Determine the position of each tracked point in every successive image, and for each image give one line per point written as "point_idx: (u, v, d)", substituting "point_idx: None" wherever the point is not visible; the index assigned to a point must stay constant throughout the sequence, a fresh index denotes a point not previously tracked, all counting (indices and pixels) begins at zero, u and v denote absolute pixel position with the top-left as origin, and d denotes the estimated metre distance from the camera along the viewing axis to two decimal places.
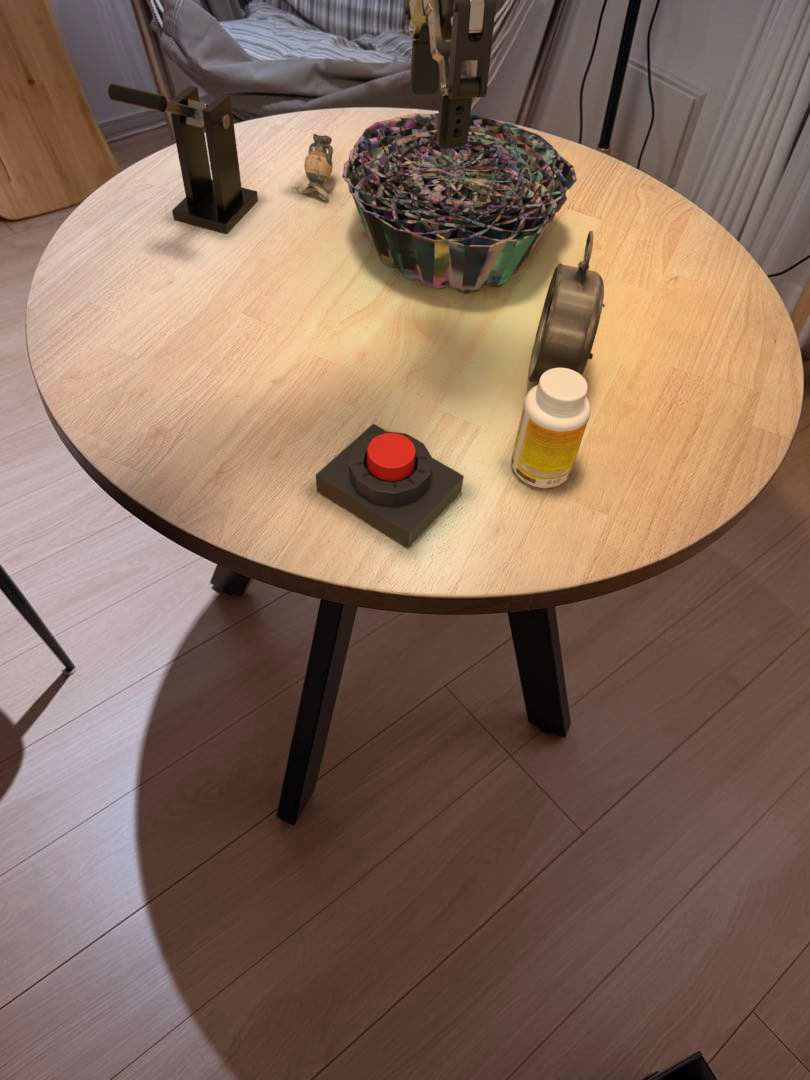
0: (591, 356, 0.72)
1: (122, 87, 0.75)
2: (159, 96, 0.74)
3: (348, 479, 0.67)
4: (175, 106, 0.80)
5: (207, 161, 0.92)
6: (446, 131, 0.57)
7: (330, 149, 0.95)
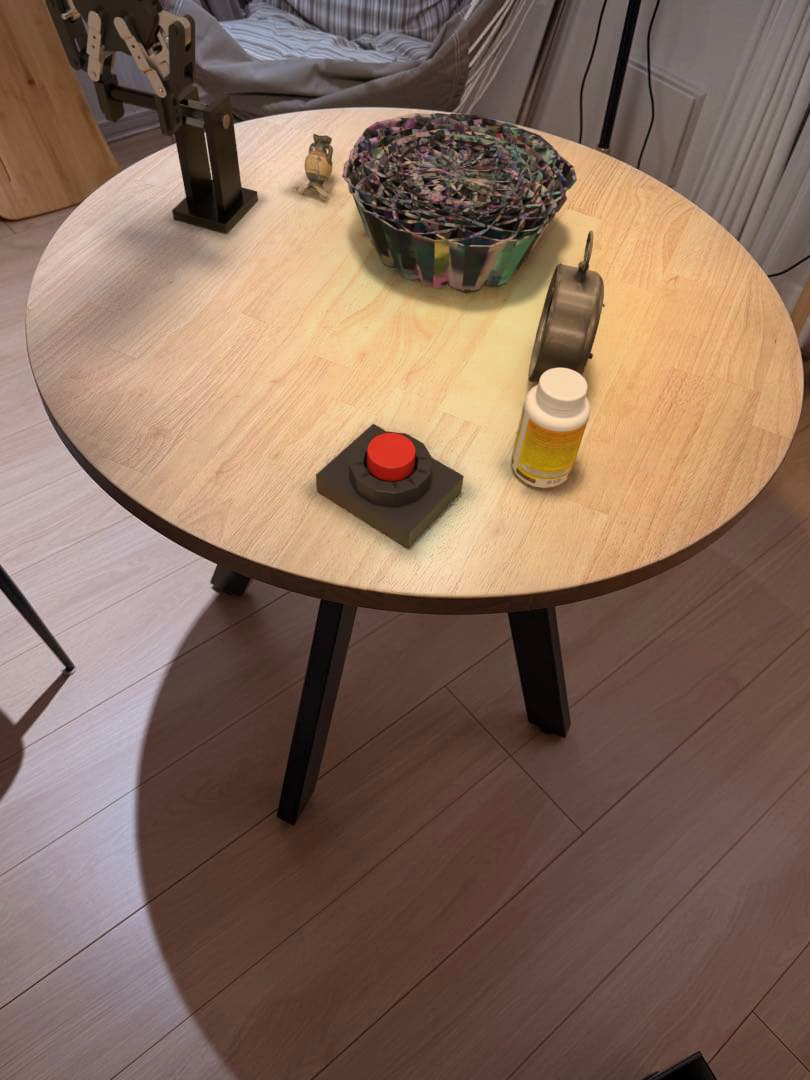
0: (591, 356, 0.72)
1: (122, 87, 0.75)
2: None
3: (348, 479, 0.67)
4: None
5: (207, 161, 0.92)
6: (171, 122, 0.75)
7: (330, 149, 0.95)
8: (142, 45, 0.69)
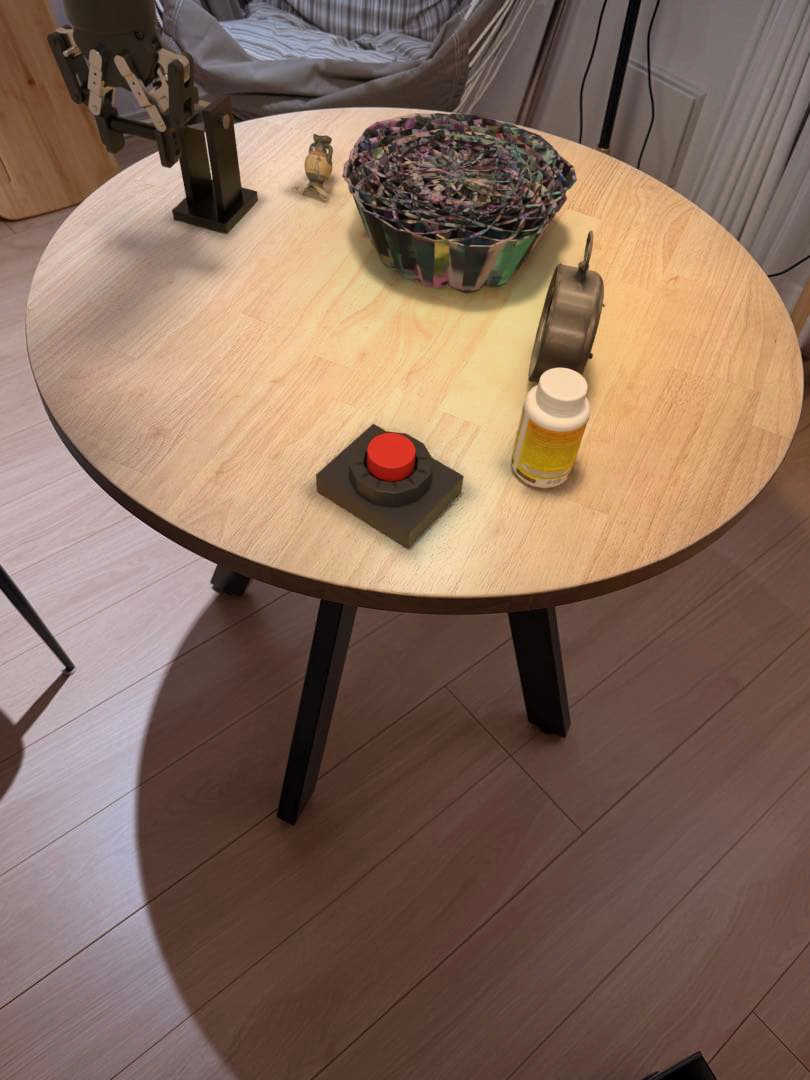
0: (591, 356, 0.72)
1: (121, 119, 0.76)
2: None
3: (348, 479, 0.67)
4: None
5: (207, 161, 0.92)
6: (170, 154, 0.76)
7: (330, 149, 0.95)
8: (142, 82, 0.71)
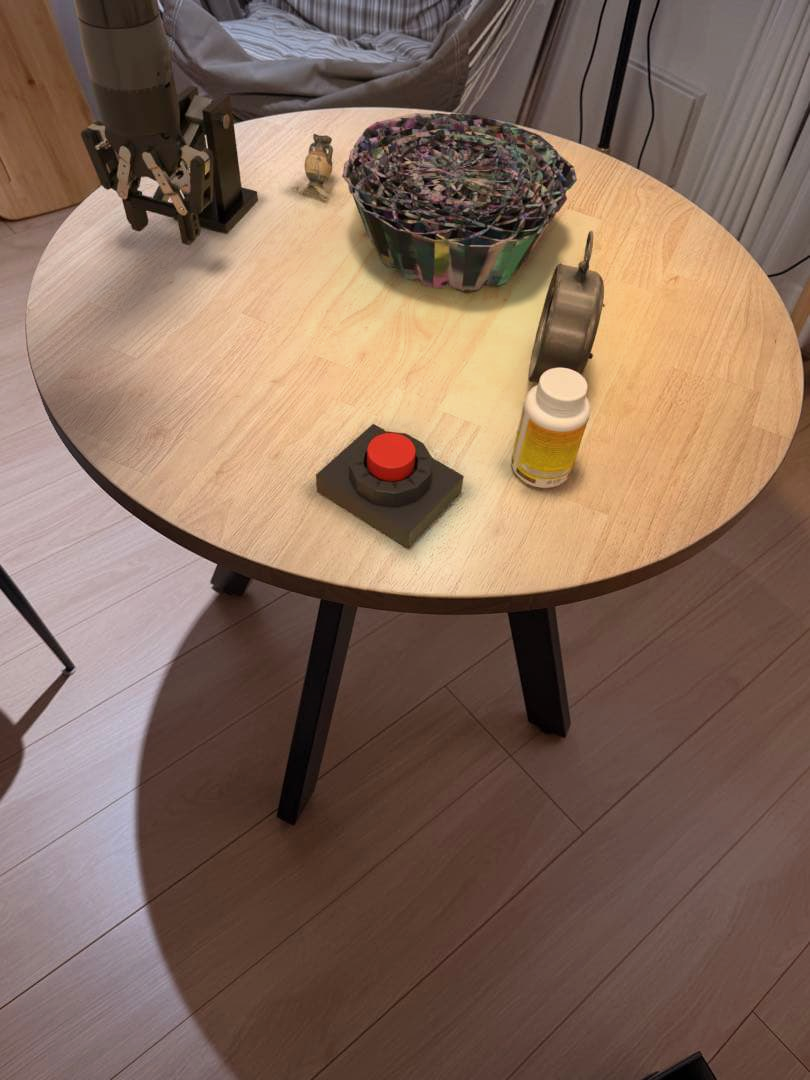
0: (591, 356, 0.72)
1: (141, 202, 0.83)
2: (174, 212, 0.82)
3: (348, 479, 0.67)
4: None
5: None
6: (190, 234, 0.84)
7: (330, 149, 0.95)
8: (166, 174, 0.79)
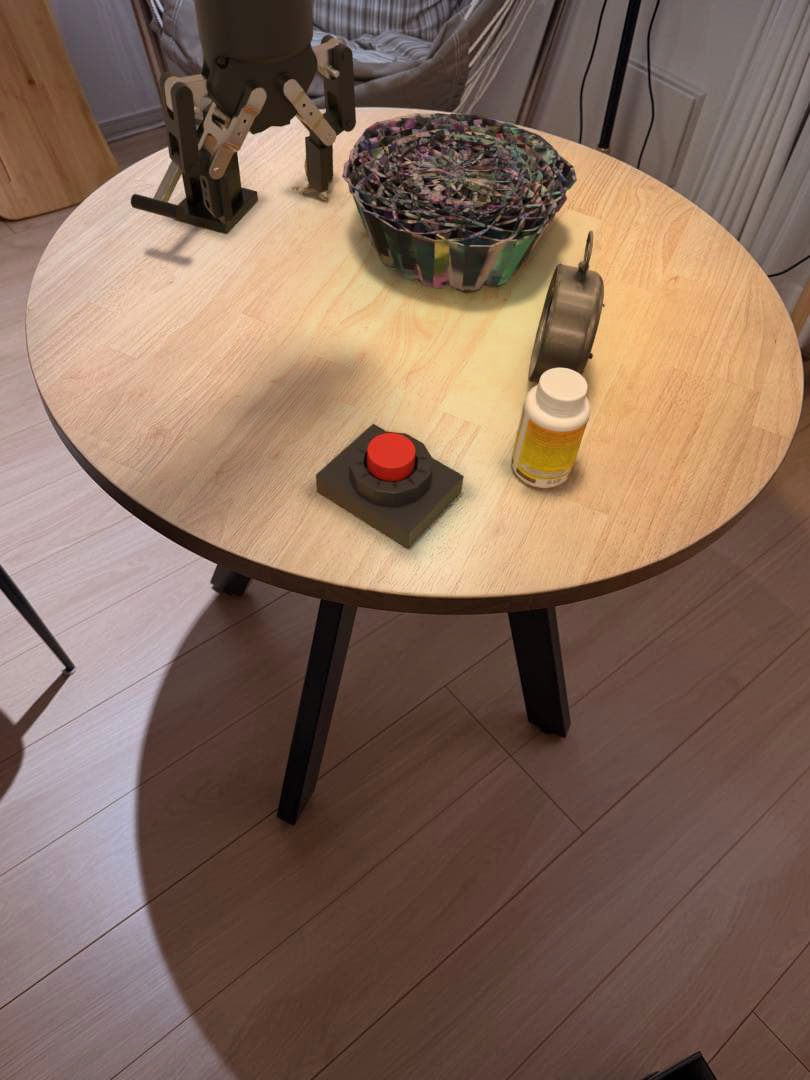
0: (591, 356, 0.72)
1: (141, 203, 0.83)
2: (175, 212, 0.82)
3: (348, 479, 0.67)
4: None
5: None
6: (329, 172, 0.62)
7: None
8: None
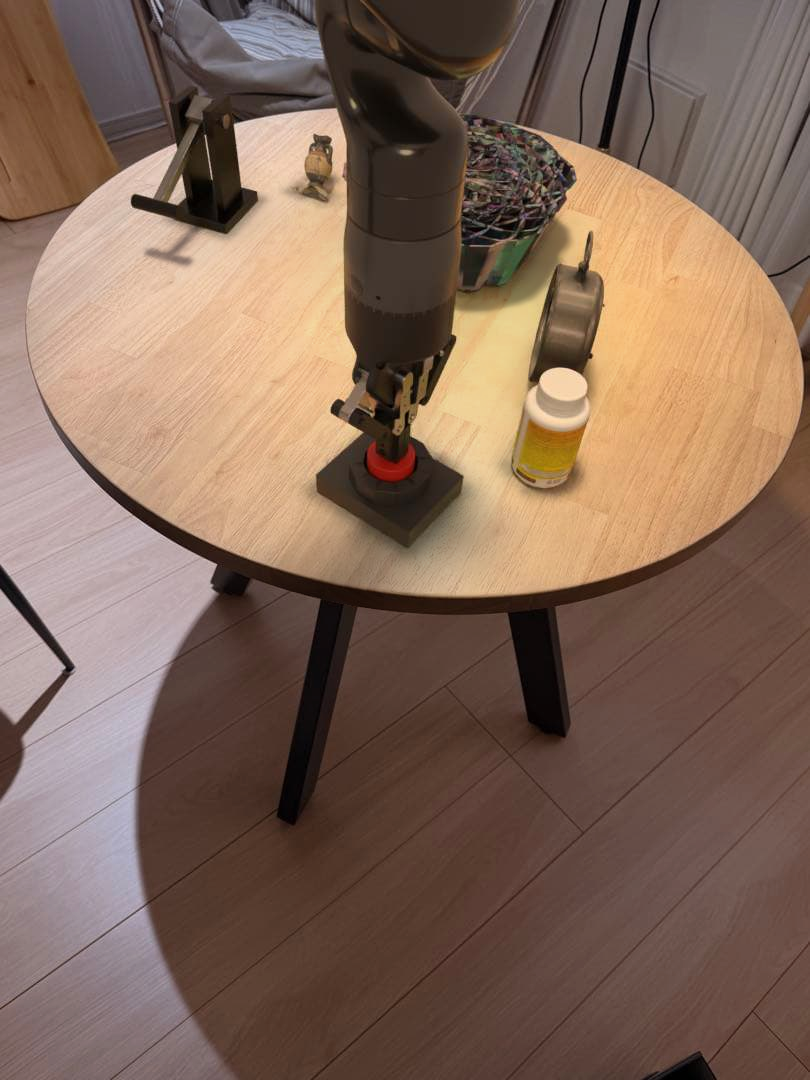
0: (591, 356, 0.72)
1: (141, 203, 0.83)
2: (175, 212, 0.82)
3: (348, 479, 0.67)
4: (182, 163, 0.84)
5: (207, 161, 0.92)
6: None
7: (330, 149, 0.95)
8: None
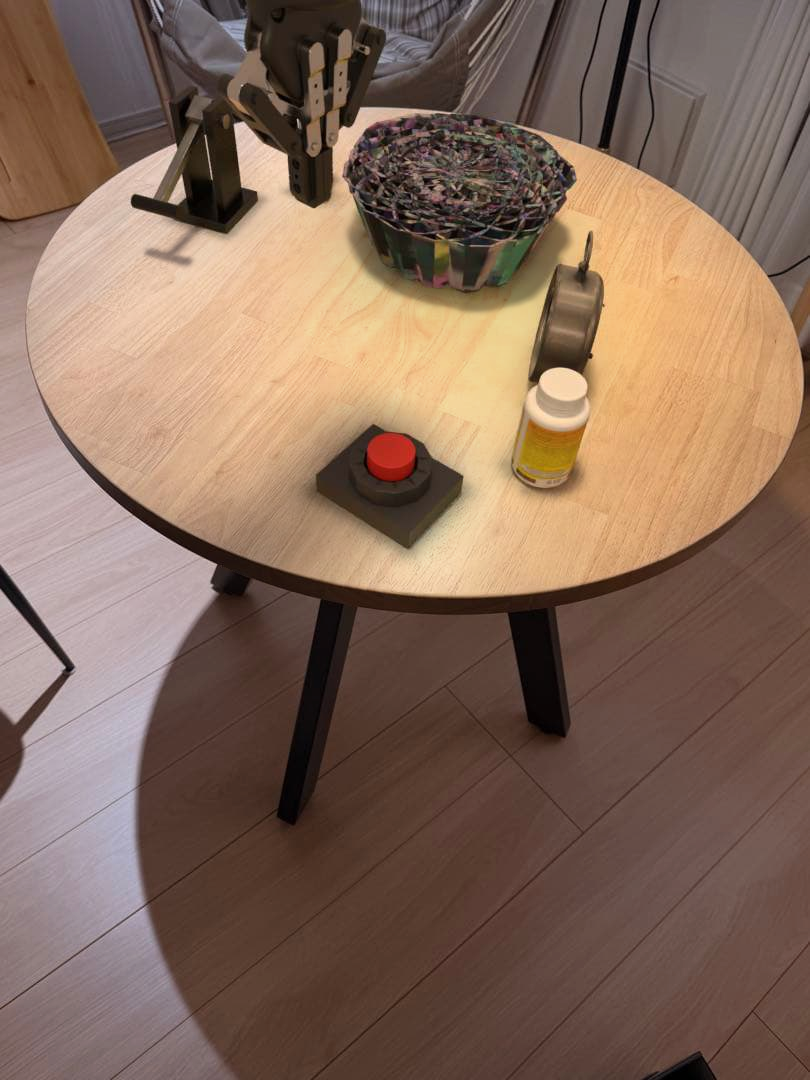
0: (591, 356, 0.72)
1: (141, 203, 0.83)
2: (175, 212, 0.82)
3: (348, 479, 0.67)
4: (182, 163, 0.84)
5: (207, 161, 0.92)
6: None
7: None
8: None
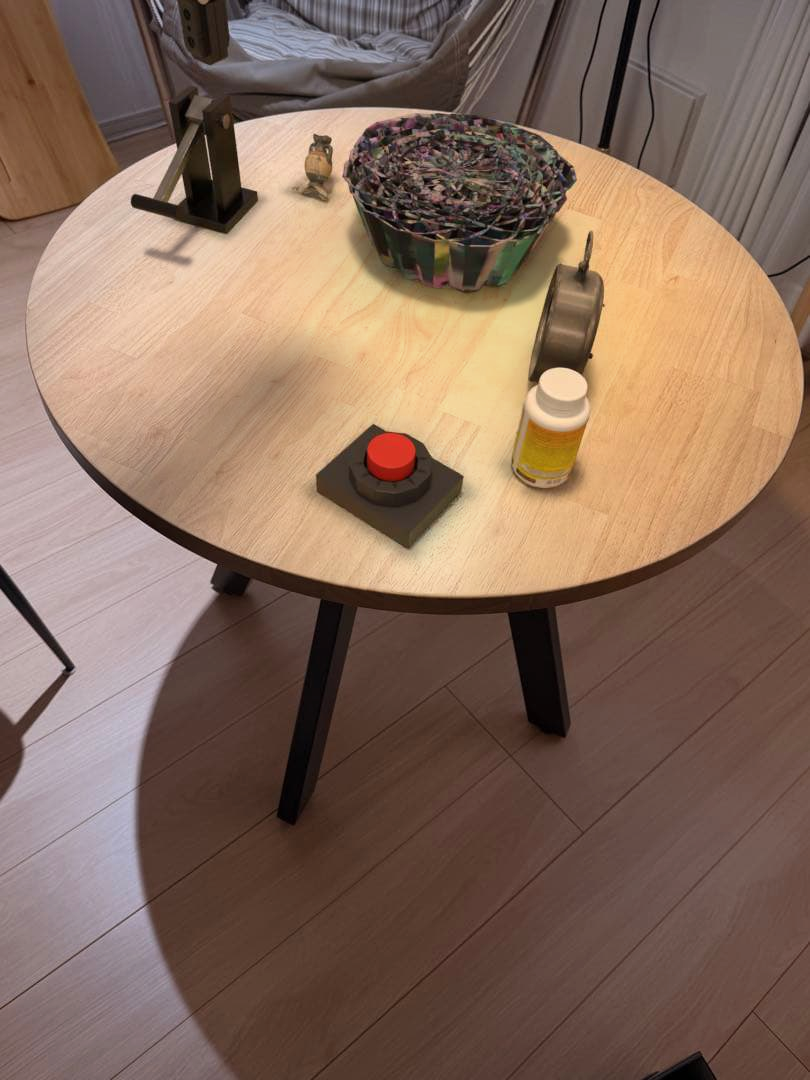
0: (591, 356, 0.72)
1: (141, 203, 0.83)
2: (175, 212, 0.82)
3: (348, 479, 0.67)
4: (182, 163, 0.84)
5: (207, 161, 0.92)
6: None
7: (330, 149, 0.95)
8: None
